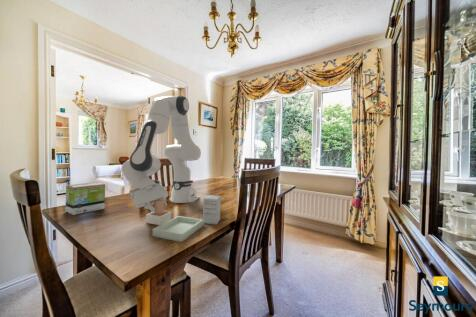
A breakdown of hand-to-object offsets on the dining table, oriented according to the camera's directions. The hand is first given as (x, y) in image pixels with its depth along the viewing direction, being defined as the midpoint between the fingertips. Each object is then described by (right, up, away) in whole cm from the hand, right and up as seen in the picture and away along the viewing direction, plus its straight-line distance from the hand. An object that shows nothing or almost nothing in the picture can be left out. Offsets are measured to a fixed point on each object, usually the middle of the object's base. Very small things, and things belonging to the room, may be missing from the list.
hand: (160, 208), depth 98 cm
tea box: (-46, -4, +13) cm, 48 cm away
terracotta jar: (-1, -6, 0) cm, 6 cm away
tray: (+13, -7, -10) cm, 18 cm away
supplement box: (+25, -7, +3) cm, 26 cm away
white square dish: (-1, -6, 0) cm, 6 cm away
